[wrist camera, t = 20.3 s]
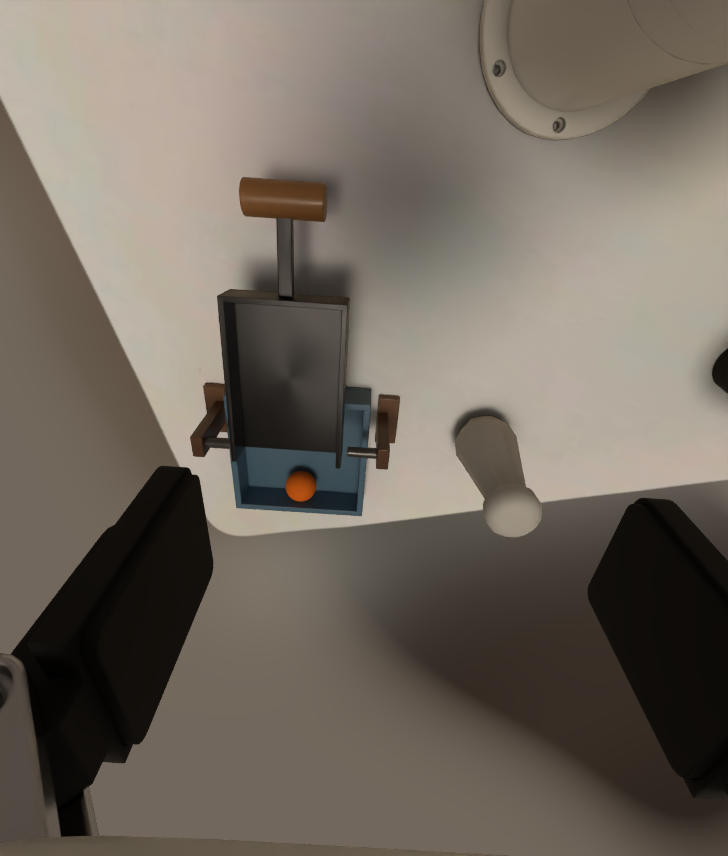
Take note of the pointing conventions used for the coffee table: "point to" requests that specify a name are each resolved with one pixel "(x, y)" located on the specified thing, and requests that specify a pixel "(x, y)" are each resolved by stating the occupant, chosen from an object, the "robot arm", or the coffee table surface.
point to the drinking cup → (721, 371)
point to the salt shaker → (498, 476)
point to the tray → (308, 469)
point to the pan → (284, 340)
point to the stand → (384, 435)
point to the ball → (300, 486)
